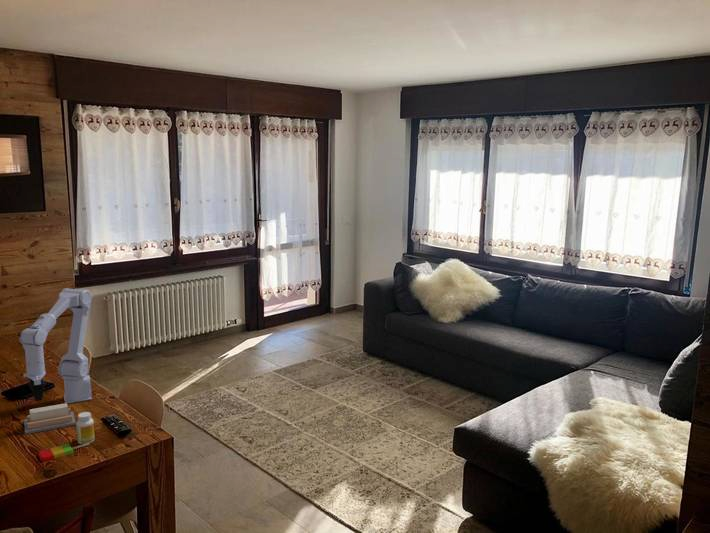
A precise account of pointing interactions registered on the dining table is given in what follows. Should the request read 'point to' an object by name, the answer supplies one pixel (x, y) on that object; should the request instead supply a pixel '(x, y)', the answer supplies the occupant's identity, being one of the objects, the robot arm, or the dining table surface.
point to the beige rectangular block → (48, 412)
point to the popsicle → (57, 452)
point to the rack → (49, 423)
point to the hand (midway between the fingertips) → (38, 396)
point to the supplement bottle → (85, 428)
